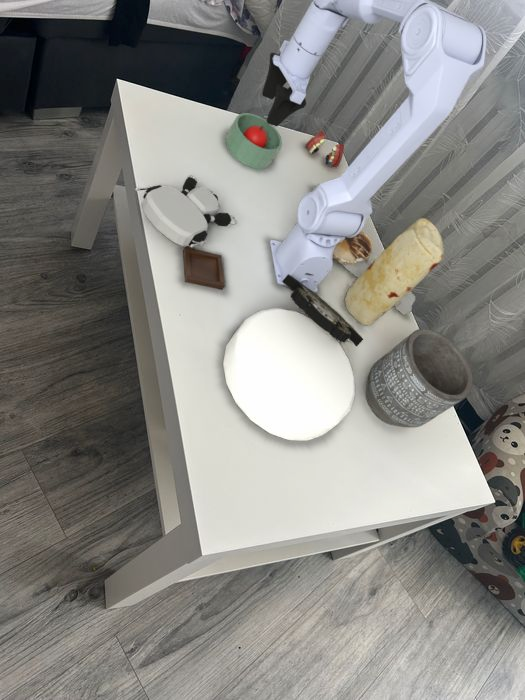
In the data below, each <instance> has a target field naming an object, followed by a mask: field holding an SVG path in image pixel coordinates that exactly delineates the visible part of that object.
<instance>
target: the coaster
mask: <svg viewBox="0 0 525 700" xmlns="http://www.w3.org/2000/svg"><path fill="white" fill-rule="evenodd" d="M222 258H223V257H222V254H218V253H213V252H209V251H205V250H201V249H197V248H194V247H192V248H191V247H190V246H189V247H188V246H186V247H185V246H183V249H182V261H183V262H182V263H183V275H184V282H185V283H188V284H193V285H197V286H201V287H207V288H212V289H217V290H222V291H223V290H224V289H225V287H226V284H225V283H226V282H225V276H224V275H225V274H224V265H223V259H222Z"/></svg>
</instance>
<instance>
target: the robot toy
mask: <svg viewBox="0 0 525 700" xmlns="http://www.w3.org/2000/svg"><path fill="white" fill-rule="evenodd" d="M183 182H184V183H183V185H182V191H180V190H178V189H177V188H175V187H173V186H169V185H167V184H165V185H161V184H159V185H153V186H151V185H150V186H147V187H136V188H135V189H134V190H135V191H136V192H138V191H145V192H144V195H143V196H142V198H143V201H142V202H141V207H142V208H141V209H142V211H143V213H144V214H145V216H146V217H147V219H148V221H150V223H151V224H152V225H153V226H154V228H155V229H156V230H157V231H158V232H159V233H161V235H163V236H164V237H165V238H166V239H168V240H169V241H171V242H172V243H174V244H176V245H179V246H181V247H188V246H189V248H194V247H197V246H204V244H205V240H206V239H207V237H208V229H209V224H210V223H211V222H213V223H214V224H215V225H216V226H218V227H228V226H230V225H231V226H234V225H236V224H237V222H238V220H237V219H236V217H235V216H234V215H232V214H230V213H228V212H218V211H219V209H220V204H221V203H222V200H221V198H220V197H218V195H217V194H216V193H214V191H213V190H212V189H210V188H205V187H203V186H197V184H198V178H197V177H194V175H192V174H190V175H188V176H187V177H186V179H185V181H183Z"/></svg>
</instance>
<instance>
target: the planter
mask: <svg viewBox="0 0 525 700" xmlns="http://www.w3.org/2000/svg"><path fill="white" fill-rule="evenodd" d="M473 384H474V378H473V373H472V370H471V367H470V365H469V363H468V360H467V359H466V357H465V356H464V354H463V353H462V351H461V350H460V349H459V348H458V347H457V345H456V344H455V343H454V342H453V341H451V339H449V338H448V337H447V336H445V335H444V334H442V333H440V332H438V331H436V330H434V329H430V328H419V329H416V330H414V331H413V332H412V333H410V334H409V335H407V337H405V338H404V339H402V340H401V341H400V342H399V343H397V344H396V345H395V346H393V348H392V349H390V350H389V351H388V352H387V353H386V354H384V355H383V356H382V357H380V358H379V359H378V360H377V361H375V362H374V363H373V364H372V365H371V368H370V371H369V373H368V377H367V383H366V391H365V396H366V401H367V403H368V406H369V407H370V410H371V412H373V414H374V415H375V416H376V417H377V418H378V419H379V420H381V421H382V422H383V423H385V424H387V425H390V426H394V427H402V428H419V427H422V426H424V425H425V424H427V423H429V422H431V421H433V420H434V419H436V418H437V417H438V416H439V415H441V414H443V413H445V412H446V411H448V410H449V409H451V408H452V407H454V406H455V405H457V404H458V403H460V402H462V401H463V400H465V399H467V398H468V396H470V394H471V391H472V389H473Z"/></svg>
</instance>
